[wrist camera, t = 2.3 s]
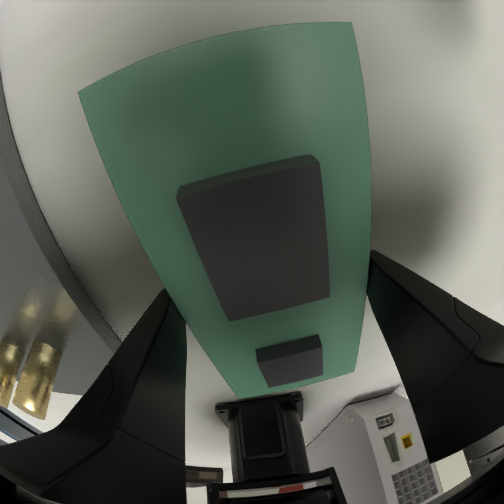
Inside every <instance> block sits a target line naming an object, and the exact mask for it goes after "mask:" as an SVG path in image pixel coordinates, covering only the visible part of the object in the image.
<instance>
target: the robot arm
mask: <svg viewBox="0 0 504 504" xmlns="http://www.w3.org/2000/svg"><path fill="white" fill-rule="evenodd" d="M366 293H367V296H368V299H369V302H370V305H371V308H372V311H373V313H374V316H375V318H376V320H377V323H378V325H379V327H380V329H381V331H382V334H383V336H384V338H385V341H386V343H387V345H388V348H389V350H390V352H391V355H392V357H393V359H394V362H395V364H396V367H397V369H398V372H399V374H400V377H401V379H402V382H403V385H404V387H405V390H406V393H407V395H408V398H409V401H410V404H411V407H412V409H413V412H414V415H415V419H416V422H417V425H418V428H419V431H420V434H421V437H422V440H423V444H424V447H425V450H426V454H427V457H428V461H429V464H432V463H434V462H437V461H439V460H441V459H444V458H446V457H448V456H450V455H452V454H454V453H456V452H458V451H460V450H462V449H463V452H464V455H465V458H466V461H467V464H468V467H469V470H470V473H471V476H470V477H469V478H467V479H466V480H464V481H463V482H462V483H460V484H458V485H457V486H455V487H454V488H452V489H451V490H449V491H447V492H445V493H444V494H442V495H440V496H439V497H437V498H435V499H433V500H431V501H430V502H428V503H426V504H504V326H503V325H501V324H500V323H498V322H496V321H494V320H492V319H491V318H489V317H487V316H485V315H483V314H482V313H480V312H478V311H476V310H475V309H473V308H471V307H470V306H468V305H467V304H465V303H463V302H462V301H460V300H459V299H457V298H455V297H453V296H452V295H451V294H449V293H447V292H446V291H444V290H443V289H441V288H439V287H438V286H436V285H434V284H433V283H431V282H429V281H428V280H426V279H424V278H423V277H421V276H419V275H418V274H416V273H414V272H413V271H411V270H409V269H407V268H406V267H404V266H402V265H401V264H399V263H397V262H395V261H394V260H392V259H390V258H388V257H386V256H385V255H383V254H381V253H379V252H377V251H375V250H370V257H369V270H368V282H367V291H366ZM186 363H187V340H186V323H185V320H184V318H183V317H182V315H181V313H180V312H179V310H178V309H177V307H176V305H175V304H174V302H173V300H172V298H171V297H170V295H169V293H168V292H167V290H166V288H164V289H162V291H161V292H160V293H159V294H158V296H157V297H156V298H155V300H154V301H153V302H152V304H151V305H150V306H149V307H148V309H147V310H146V311H145V313H144V314H143V315H142V317H141V318H140V319H139V321H138V322H137V323H136V325H135V326H134V327H133V329H132V330H131V331H130V333H129V334H128V335H127V337H126V338H125V340H124V341H123V342H122V344H121V345H120V346H119V348H118V349H117V351H116V352H115V353H114V355H113V356H112V358H111V359H110V360H109V362H108V365H106V366H105V367H104V369H103V370H102V372H101V373H100V374H99V376H98V377H97V378H96V380H95V381H94V383H93V384H92V385H91V386H90V388H89V389H88V390H87V392H86V393H85V394H84V395H83V397H82V398H81V399H80V400H79V401H78V403H77V404H76V405H75V406H74V407H73V409H72V410H71V411H70V412H69V414H68V415H67V416H66V417H65V419H64V420H63V421H62V422H61V423H60V424H59V425H58V426H57V427H55V428H54V429H52V430H50V431H48V432H45V433H42V434H39V435H36V436H33V437H30V438H27V439H24V440H20V441H17V442H14V443H10V444H6V445H0V504H187V492H186V467H185V463H184V462H185V390H186ZM215 413H216V414H217V415H218V417H219V418H220V419H221V420H222V421H223V423H224V424H225V425H226V426H227V427H228V429H229V442H230V453H231V464H232V475H233V483H220V482H212V483H211V484H206V489H207V504H347V501H346V498H345V496H344V493H343V490H342V487H341V485H340V482H339V479H338V476H337V474H336V471H335V468H334V466H333V467H329V468H326V469H324V470H321V471H317V472H312V473H311V472H310V467H309V463H308V458H307V453H306V448H305V443H304V438H303V433H302V429H301V424H300V422H301V421H302V419H303V396H302V394H293V395H288V396H282V397H277V398H271V399H265V400H258V401H252V402H244V403H236V404H227V405H218V406H216V407H215ZM311 482H316V487H312V488H307V489H302V490H296V491H291V492H284V493H278V494H270V495H262V496H250V497H234V498H228V495H227V493H234V492H249V491H260V490H268V489H277V488H284V487H290V486H296V485H302V484H307V483H311Z"/></svg>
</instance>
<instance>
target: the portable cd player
mask: <svg viewBox="0 0 504 504" xmlns="http://www.w3.org/2000/svg"><path fill="white" fill-rule="evenodd" d="M185 467H186V487H190V488H195V487H205V486H206V484H211V483H212V482H220V483H223V470H222V468H207V467H194V466H185Z"/></svg>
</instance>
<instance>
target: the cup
mask: <svg viewBox="0 0 504 504" xmlns="http://www.w3.org/2000/svg"><path fill="white" fill-rule="evenodd" d="M186 492H187V504H207V489H206V486H205V487H195V488H190V487H186Z"/></svg>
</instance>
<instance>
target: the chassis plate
mask: <svg viewBox="0 0 504 504" xmlns="http://www.w3.org/2000/svg"><path fill="white" fill-rule="evenodd" d="M121 344H122V343H121V341H120V340H119V339H118V337H117V336H116V335H115V334H114V332H113V331H112V330H111V328H110V327H109V326H108V324H107V323H106V321H105V320H104V319H103V317H102V316H101V315H100V313H99V312H98V310H97V309H96V307H95V306H94V304H93V303H92V302H91V300H90V299H89V297H88V296H87V294H86V292H85V291H84V289H83V288H82V286H81V285H80V283H79V281H78V280H77V278H76V277H75V275H74V273H73V272H72V270H71V268H70V267H69V265H68V263H67V261H66V260H65V258H64V256H63V254H62V252H61V251H60V249H59V247H58V245H57V243H56V241H55V239H54V237H53V235H52V234H51V232H50V230H49V227H48V225H47V223H46V221H45V219H44V217H43V215H42V213H41V211H40V208H39V206H38V204H37V202H36V199H35V197H34V194H33V192H32V190H31V187H30V185H29V182H28V179H27V177H26V174H25V171H24V169H23V166H22V163H21V160H20V157H19V154H18V151H17V148H16V144H15V141H14V138H13V134H12V130H11V127H10V123H9V119H8V115H7V110H6V106H5V101H4V96H3V90H2V84H1V77H0V406H2V407H4V408H8V404H9V401H10V397H11V394H12V391H13V387H14V384H15V381H16V380H17V381H18V385H17V388H16V391H15V395H14V398H13V404H14V405H16V406H17V407H18V408H19V409H21V410H22V411H24V412H26V413H27V414H29V415H31V416H33V417H36V418H38V419H42V420H45V417H46V412H47V408H48V404H49V400H50V396H51V392H59V393H67V394H75V395H84V394H85V393H86V392H87V390H88V389H89V388H90V386H91V385H92V384H93V383H94V381H95V380H96V378H97V377H98V376H99V374H100V373H101V372H102V370H103V369H104V367H105V366H106V365H108V362H109V360H110V359H111V358H112V356H113V355H114V353H115V352H116V351H117V349H118V348H119V346H120V345H121Z"/></svg>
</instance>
